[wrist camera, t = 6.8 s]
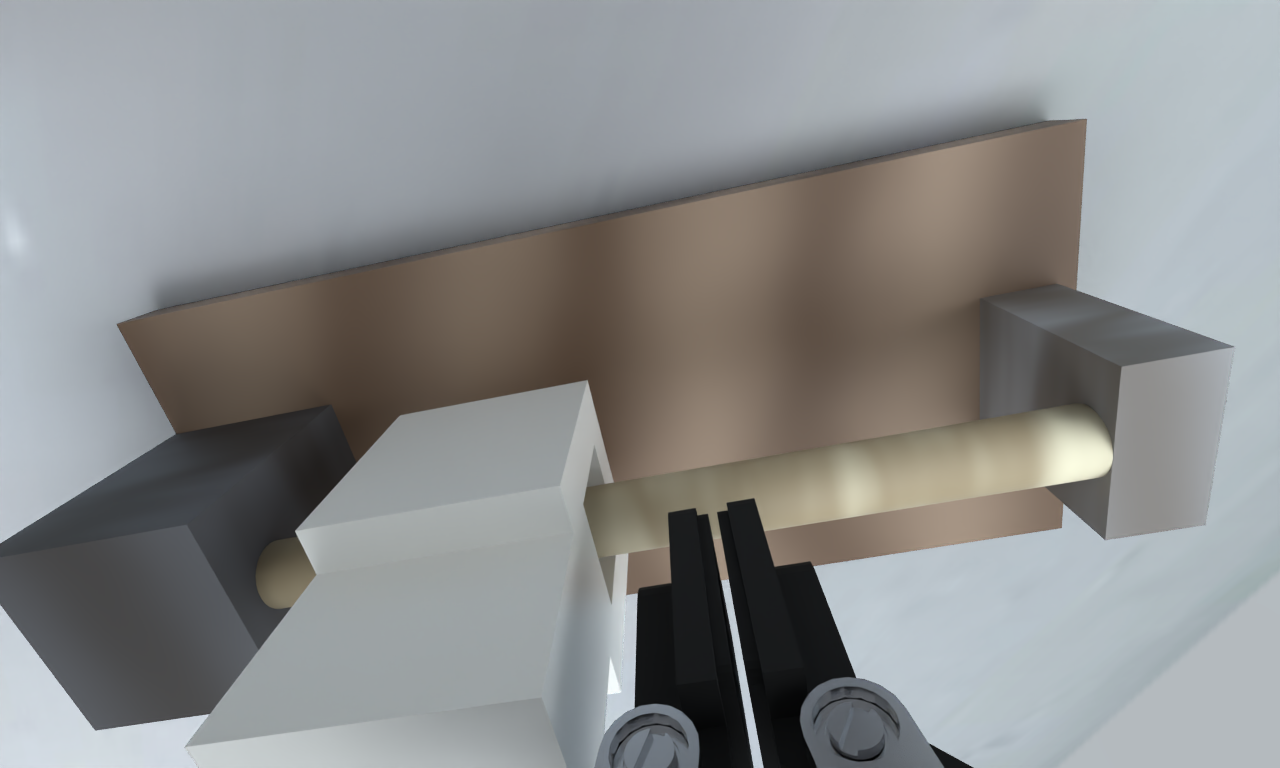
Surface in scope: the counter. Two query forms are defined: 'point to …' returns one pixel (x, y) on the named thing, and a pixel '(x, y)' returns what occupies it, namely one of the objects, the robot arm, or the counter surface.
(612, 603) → the stepped white block
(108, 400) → the counter surface
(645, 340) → the wooden board rod assembly
